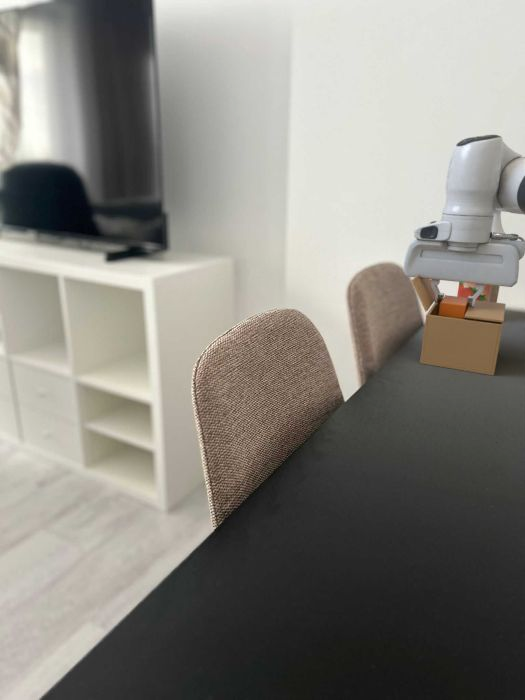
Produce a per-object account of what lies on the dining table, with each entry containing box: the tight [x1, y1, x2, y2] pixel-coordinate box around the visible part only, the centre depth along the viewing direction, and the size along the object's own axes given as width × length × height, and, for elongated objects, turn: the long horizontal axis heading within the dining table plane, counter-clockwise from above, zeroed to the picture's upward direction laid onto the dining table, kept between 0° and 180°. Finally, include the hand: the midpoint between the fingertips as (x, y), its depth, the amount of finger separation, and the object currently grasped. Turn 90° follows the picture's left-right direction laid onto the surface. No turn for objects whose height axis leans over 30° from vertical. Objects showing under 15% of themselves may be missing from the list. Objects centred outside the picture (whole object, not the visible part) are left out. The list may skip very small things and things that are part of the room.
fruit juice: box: [456, 210, 507, 303], centre depth 126 cm, size 9×9×28 cm
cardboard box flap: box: [411, 275, 435, 312], centre depth 100 cm, size 14×6×1 cm
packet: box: [439, 294, 468, 319], centre depth 98 cm, size 4×7×3 cm, turn 154°
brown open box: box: [419, 300, 506, 377], centre depth 99 cm, size 14×13×10 cm
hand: (454, 304), depth 98 cm, fingers closed on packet, 4 cm apart
